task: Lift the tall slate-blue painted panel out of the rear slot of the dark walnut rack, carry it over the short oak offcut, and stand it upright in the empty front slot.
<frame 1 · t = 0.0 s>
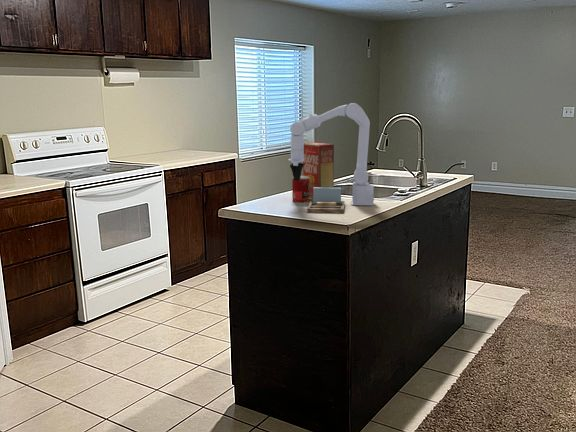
hand: (297, 180, 254), 10 cm above the counter, fingers open, 4 cm apart
offcut: (326, 209, 244), resting in rack
panel: (327, 205, 250), resting in rack
food packaging: (318, 196, 273), on the counter
rack: (326, 208, 244), on the counter
canned food: (300, 201, 262), on the counter, touching gripper
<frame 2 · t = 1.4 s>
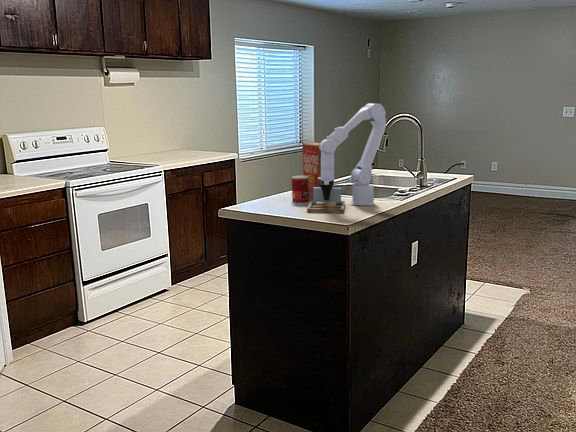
hand: (327, 198, 249), 3 cm above the counter, fingers open, 7 cm apart
canned food: (300, 200, 262), on the counter
everything else where it was.
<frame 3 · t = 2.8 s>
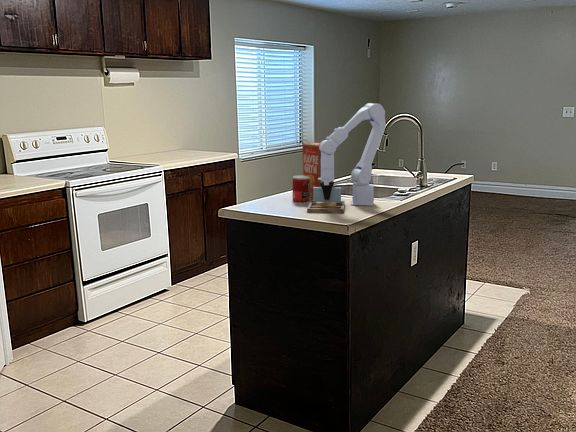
hand: (327, 199, 249), 3 cm above the counter, fingers closed on panel, 2 cm apart
panel: (327, 205, 250), resting in rack, touching gripper
everything else where it was.
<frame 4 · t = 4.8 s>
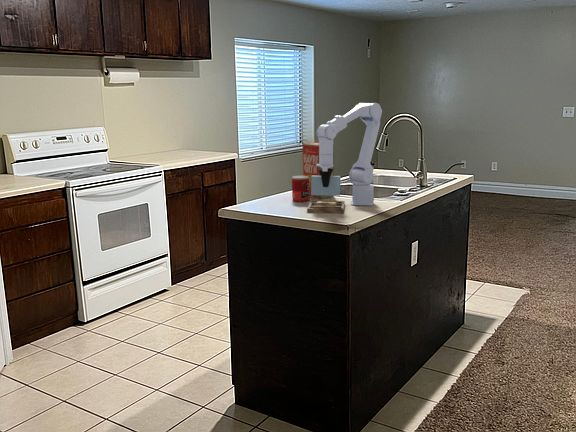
hand: (325, 186, 239), 10 cm above the counter, fingers closed on panel
panel: (325, 195, 240), point 6 cm above the counter, touching gripper
everything else where it was.
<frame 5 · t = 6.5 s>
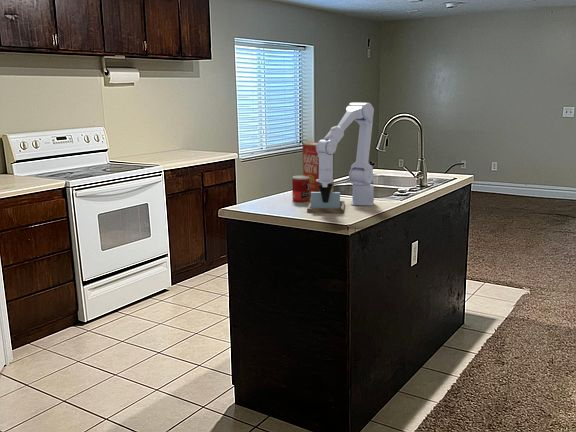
hand: (325, 201, 238), 4 cm above the counter, fingers closed on panel, 2 cm apart
panel: (325, 211, 238), resting in rack, touching gripper
everything else where it was.
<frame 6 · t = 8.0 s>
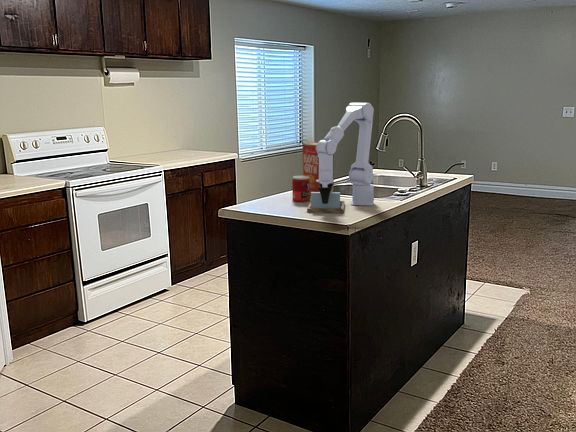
hand: (325, 201, 238), 4 cm above the counter, fingers open, 7 cm apart
panel: (325, 211, 238), resting in rack
everything else where it was.
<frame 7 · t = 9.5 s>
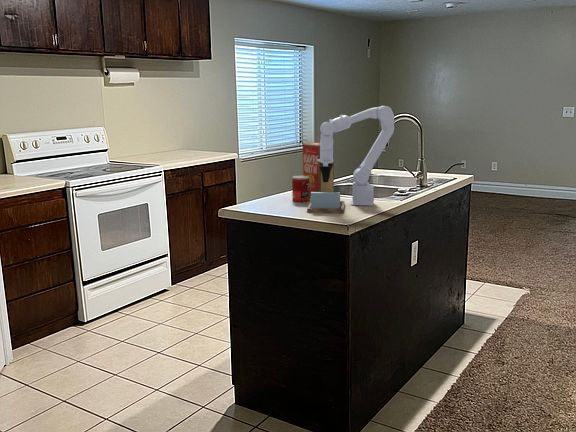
hand: (326, 180, 252), 10 cm above the counter, fingers open, 7 cm apart
nothing on the counter moved.
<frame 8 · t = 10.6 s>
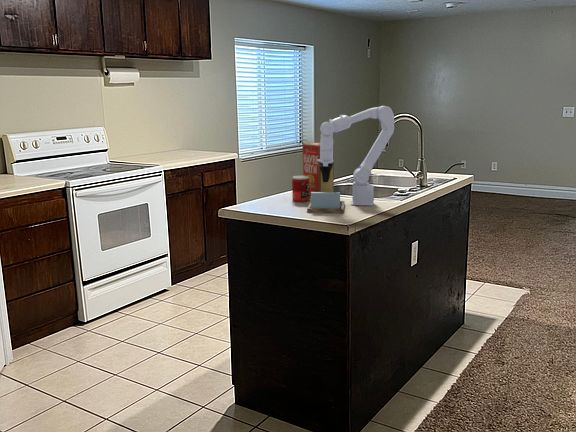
hand: (326, 180, 252), 10 cm above the counter, fingers open, 7 cm apart
nothing on the counter moved.
at the end: panel 0.1 cm from the target spot on the rack, point 0.0 cm above the rack's base; panel tilted 0°; the gripper is holding nothing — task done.
